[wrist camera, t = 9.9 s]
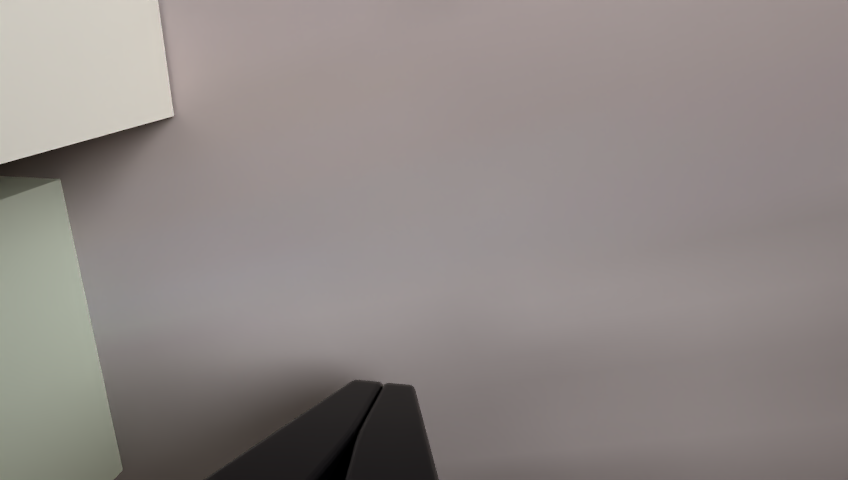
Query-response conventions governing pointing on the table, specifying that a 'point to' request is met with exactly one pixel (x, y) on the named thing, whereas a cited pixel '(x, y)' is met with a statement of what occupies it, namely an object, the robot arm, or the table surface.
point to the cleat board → (78, 72)
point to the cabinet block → (47, 346)
